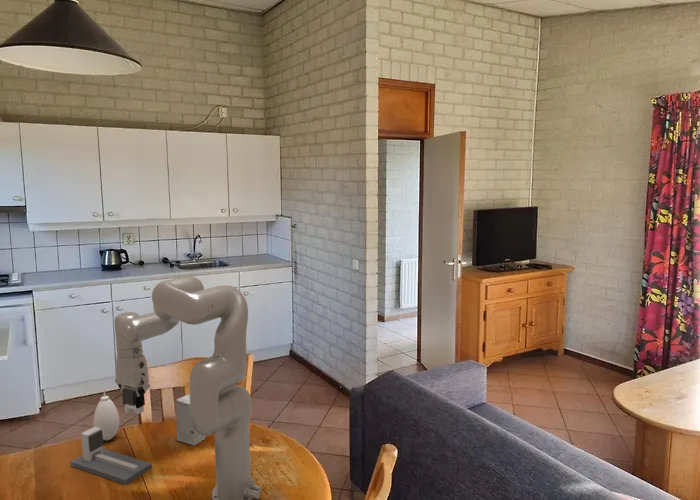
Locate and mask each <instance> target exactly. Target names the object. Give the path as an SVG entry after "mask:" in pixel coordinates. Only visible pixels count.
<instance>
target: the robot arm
mask: <svg viewBox="0 0 700 500" xmlns="http://www.w3.org/2000/svg"><path fill="white" fill-rule="evenodd" d="M151 301H152V304H153V305H152V308H153V311H154V312H151V313H146V314H142V315H139V314H138V313H137V312H132V311H131V312H128V311H127V312H122V313H119V314H117V315H116V316H114V321H113V323H114V332H115V333H114V334H115V343H116V344H115V346H116V361H115V374H116V375H115V379H114V382H115V383H116V385H118V388H119V389H120V393H121V396H122V398H123V392H122V389H123V386H129V387H134V389H135V392H136V396H135V402H136V408H140V407H142V406H143V407H144V406H146V405H145V404H146V401H145V400H146V399H145V394H146V392H147V391H148V390H149V389H150V388H151V385H150V383H149V382H150V377H149V369H148V364H147V360H146V356H145V354H143V353H144V350H143V342H142V341H145V340H148V339H151V338H152V339H153V338H154V337H157V336H158V337H159V336H162V335H164V334H166V333H168V332H169V331H171V330H172V329H173V328H175V327H176V326H177V325H178V324H179V323H180V322H181V323H185V324H188V325H191V326H193V325H194V326H195V325H200V324H205V323H207V322H210V321H213V320H217V319H219V318H220V322H219V324H218V325H217V328H216V331H215V333H214V338H213V340H214V341H213V343H214V348H213V349H214V350H213V353H212V355H211V356H209V357H207V358H203V359H202V360H200V361H199V362H197V363H196V364H194V366H193V368H192V369H191V371H190V376H189V383H188V384H189V395H190V417H191V422H192V425H193V427H194V429H195V430H196V432H197V433H199V434H200V435H203V436H205V437H207V436H212V435H214V453H215V455H214V456H215V473H216V474H215V476H216V485H215V486H214V487H213V489H212V491H211V499H212V500H253V499H257V500H258V499H259V498H260V496H261V491H262V486H260V485H256V482H255V478H254V477H252V476H251V475H252V474H251V470H252V469H251V453H250V452H251V448H250V447H251V446H250V420H251V414H252V407H253V404H252V396H251V394H250V393H249V391H248V390H247V389H246V388H245V387H244V386H240V385H237V384H239V383H240V382H241V381H244V379H245V377H246V374H247V329H248V321H249V307H248V302H247V300H246V298H245V296H244V294H243V293H242V292H241V291H240V290H239V289H238V288H237V287H236V286H233V285H219V286H218V285H217V286H212V287H210V288H206V289H205V287H204V284H203V282H202V280H200V279H199V278H197V277H195V276H190V275H189V276H188V275H187V276H181V277H176V278H172V279H167V280H163V281H160V282H158V283H157V284H156V285H155V287H154V288H153V289H152V293H151ZM138 388H141V390H140V391H139V389H138ZM122 404H123V403H122ZM123 406H125V404H123Z"/></svg>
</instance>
